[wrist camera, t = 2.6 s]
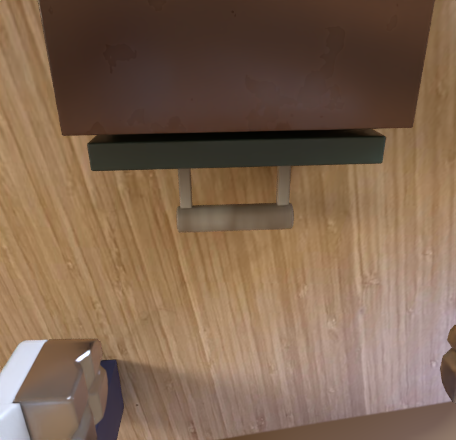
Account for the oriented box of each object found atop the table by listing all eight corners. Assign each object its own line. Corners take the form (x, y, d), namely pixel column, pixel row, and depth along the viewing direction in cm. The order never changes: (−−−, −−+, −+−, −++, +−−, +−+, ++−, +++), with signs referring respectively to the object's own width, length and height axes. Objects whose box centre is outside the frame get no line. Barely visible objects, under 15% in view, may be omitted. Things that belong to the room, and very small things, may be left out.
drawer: (329, 200, 25) (369, 252, 19) (130, 206, 25) (104, 261, 19) (371, -233, 17) (464, -387, 11) (76, -237, 17) (0, -402, 10)
